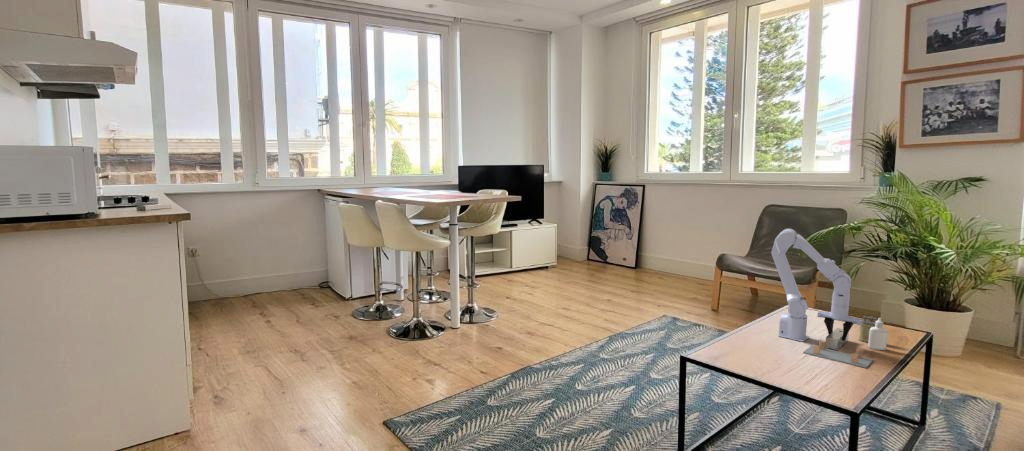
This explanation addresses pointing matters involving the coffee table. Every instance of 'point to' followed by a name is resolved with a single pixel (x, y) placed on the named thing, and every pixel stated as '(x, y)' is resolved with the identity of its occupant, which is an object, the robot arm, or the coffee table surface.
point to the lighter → (866, 328)
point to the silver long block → (835, 339)
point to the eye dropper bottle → (878, 336)
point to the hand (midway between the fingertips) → (837, 338)
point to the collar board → (839, 355)
